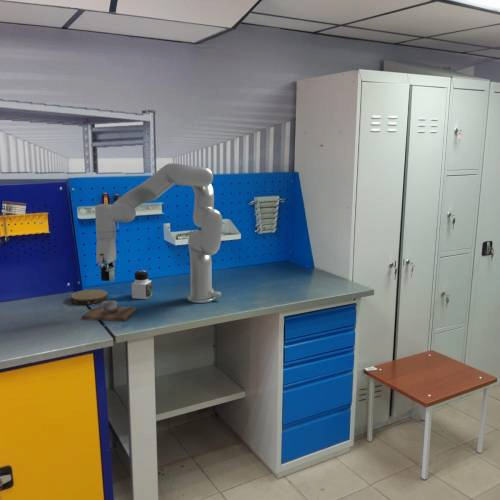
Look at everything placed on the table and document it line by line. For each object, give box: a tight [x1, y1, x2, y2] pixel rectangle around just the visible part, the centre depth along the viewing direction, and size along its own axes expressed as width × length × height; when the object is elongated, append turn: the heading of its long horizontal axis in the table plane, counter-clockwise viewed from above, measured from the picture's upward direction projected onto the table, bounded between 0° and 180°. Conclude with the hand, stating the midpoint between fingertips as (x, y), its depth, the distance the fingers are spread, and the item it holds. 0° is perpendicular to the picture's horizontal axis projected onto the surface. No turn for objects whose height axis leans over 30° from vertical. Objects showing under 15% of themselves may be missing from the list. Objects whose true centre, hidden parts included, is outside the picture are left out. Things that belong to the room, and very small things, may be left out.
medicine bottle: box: [130, 270, 153, 300], centre depth 237 cm, size 7×7×12 cm
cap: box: [108, 266, 116, 282], centre depth 210 cm, size 5×5×5 cm
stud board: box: [81, 299, 138, 322], centre depth 213 cm, size 18×14×5 cm
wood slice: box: [70, 288, 109, 306], centre depth 233 cm, size 16×16×3 cm
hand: (108, 278), depth 210 cm, fingers closed on cap, 5 cm apart
